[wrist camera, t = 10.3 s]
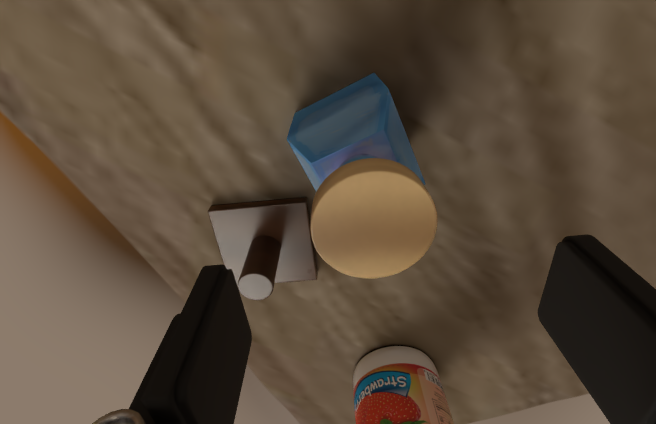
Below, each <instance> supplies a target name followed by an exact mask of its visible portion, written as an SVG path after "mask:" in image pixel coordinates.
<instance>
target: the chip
mask: <svg viewBox="0 0 656 424" xmlns="http://www.w3.org/2000/svg"><path fill="white" fill-rule="evenodd" d="M310 229H311V237H312V241H313V244H314V246H315V248H316V250H317V252H318V253H319V255H320V256H321V257H322V259H323V260H324V261H325V262H326V263H327V264H329V265H330V266H331V267H333V268H334V269H336V270H338V271H339V272H342V273H344V274H347V275H350V276H353V277H359V278H380V277H386V276H390V275H393V274H396V273H399V272H401V271H403V270H405V269H407V268H408V267H410V266H412V265H413V264H414V263H416V262H417V261H418V260H419V259H420V258H421V257H422V256H423V255H424V254H425V253H426V251H427V250H428V249H429V247H430V245H431V244H432V241H433V239H434V237H435V233H436V229H437V211H436V207H435V204H434V202H433V200H432V198H431V196H430V194H429V193H428V191H427V189H426V187H425V186H424V184H423V182H422V181H421V180H420V178H419V177H418V176H417V175H416V174H415V173H414V172H413V171H412V170H410V169H409V168H407V167H406V166H404V165H402V164H400V163H398V162H395V161H392V160H388V159H381V158H367V159H360V160H356V161H353V162H350V163H348V164H345V165H343V166H341V167H340V168H338V169H336V170H335V171H334V172H332V173H331V174H330V175H329V176H328V177H327V178H326V179H325V180H324V181H323V182H322V184H321V185H320V186H319V188H318V190H317V192H316V194H315V197H314V199H313V203H312V211H311V226H310Z"/></svg>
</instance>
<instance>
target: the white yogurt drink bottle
mask: <svg viewBox="0 0 656 424" xmlns="http://www.w3.org/2000/svg"><path fill="white" fill-rule="evenodd" d="M353 391H354V404H355V417H356V424H454V423H453V419H452V416H451V413H450V410H449V407H448V404H447V400H446V397H445V394H444V391H443V388H442V385H441V381H440V378H439V375H438V372H437V370H436V367H435V365H434V363H433V362H432V360H431V359H430V358H429V357H428V356H427V355H426V354H425V353H423V352H421V351H420V350H417V349H414V348H411V347H405V346H390V347H385V348H381V349H378V350H375V351H373V352H371V353H369V354H367V355H366V356H365V357H363V358H362V359H361V360H360V361H359V363H358V364H357V366H356V368H355V371H354V375H353Z"/></svg>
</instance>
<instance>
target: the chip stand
mask: <svg viewBox="0 0 656 424" xmlns="http://www.w3.org/2000/svg"><path fill="white" fill-rule="evenodd" d="M208 213H209V217H210V220H211V223H212V227H213V230H214V233H215V236H216V240H217V243H218V246H219V250H220V253H221V256H222V259H223V263H224V265H225V266H226V268H227V269H232V271H233V274H234V277H235V280H236V283H237V286H238V289H239V291H240V293H241V294H242V295H243V296H245V297H246V298H249V299H252V300H262V299H265V298H267V297H268V296H270V295H271V293H272V291H273V288H274V283H281V282H293V281H306V280H317V267H316V260H315V253H314V246H313V241H312V237H311V229H310V226H311V225H310V218H309V211H308V204H307V198H306V197H302V198H290V199H279V200H268V201H257V202H246V203H235V204H224V205H213V206H211V207H210V208H209V210H208Z"/></svg>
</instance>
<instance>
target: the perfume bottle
mask: <svg viewBox="0 0 656 424" xmlns="http://www.w3.org/2000/svg"><path fill="white" fill-rule="evenodd" d="M287 141H288V142H289V144H290V146H291V148H292V149H293V151H294V153H295V155H296V157H297V158H298V160H299V162H300V164H301V165H302V167H303V169H304V171H305V172H306V174H307V176H308V178H309V179H310V181H311V183H312V185H313V187H314V188H315V190H316V192H317V190H318V188H319V186H320V185H321V184H322V182H323V181H324V180H325V179H326V178H327V177H328V176H329V175H330V174H331V173H332V172H334V171H335V170H336V169H338V168H340V167H341V166H343V165H345V164H348V163H350V162H353V161H356V160H360V159H367V158H381V159H388V160H392V161H395V162H398V163H400V164H402V165H404V166H406V167H407V168H409V169H410V170H412V171H413V172H414V173H415V174H416V175H417V176H418V177H419V178H420V180H421V181H422V182H423V184H424V185H425V181H424V179H423V176H422V174H421V171H420V168H419V166H418V163H417V161H416V158H415V156H414V153H413V150H412V148H411V145H410V143H409V140H408V138H407V135H406V132H405V130H404V127H403V125H402V122H401V120H400V117H399V114H398V112H397V109H396V107H395V104H394V102H393V99H392V96H391V94H390V91H389V89H388V88H387V86H386V85H385V84H384V83H383V82H382V81H381V80H380V79H379V78H378V76H377V75H376V74H375V73H372V74H370V75H368V76H366V77H364V78H362V79H360V80H358V81H357V82H355V83H353V84H351V85H349V86H347V87H345V88H343V89H341V90H339V91H337V92H335V93H333V94H331V95H329V96H327V97H325V98H323V99H321V100H319V101H317V102H315V103H314V104H312V105H310V106H308V107H306V108H304V109H302V110H300V111H298V112H296V113H295V114H294V117H293V121H292V124H291V127H290V130H289V133H288V137H287Z"/></svg>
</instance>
